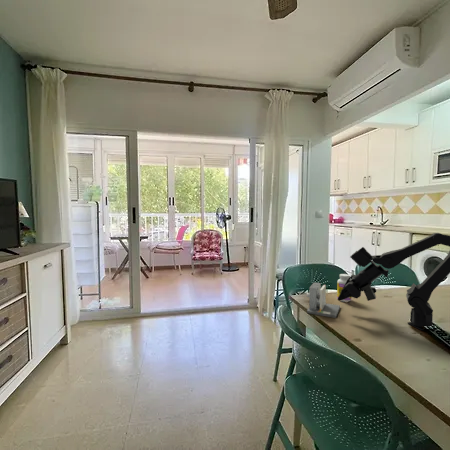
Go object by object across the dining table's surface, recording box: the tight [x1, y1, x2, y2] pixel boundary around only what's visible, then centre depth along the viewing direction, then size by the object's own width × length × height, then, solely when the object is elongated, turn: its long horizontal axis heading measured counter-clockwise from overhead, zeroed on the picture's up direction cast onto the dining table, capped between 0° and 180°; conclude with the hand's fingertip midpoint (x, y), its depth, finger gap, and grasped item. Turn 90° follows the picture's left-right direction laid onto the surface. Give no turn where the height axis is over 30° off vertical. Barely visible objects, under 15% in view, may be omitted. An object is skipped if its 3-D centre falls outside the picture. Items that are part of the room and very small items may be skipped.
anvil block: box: [308, 282, 322, 311], centre depth 123 cm, size 3×10×10 cm, turn 150°
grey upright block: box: [306, 284, 327, 312], centre depth 122 cm, size 8×11×9 cm, turn 150°
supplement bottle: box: [336, 273, 352, 303], centre depth 135 cm, size 7×7×13 cm
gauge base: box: [306, 303, 341, 319], centre depth 121 cm, size 12×14×1 cm
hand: (339, 297), depth 118 cm, fingers open, 9 cm apart
